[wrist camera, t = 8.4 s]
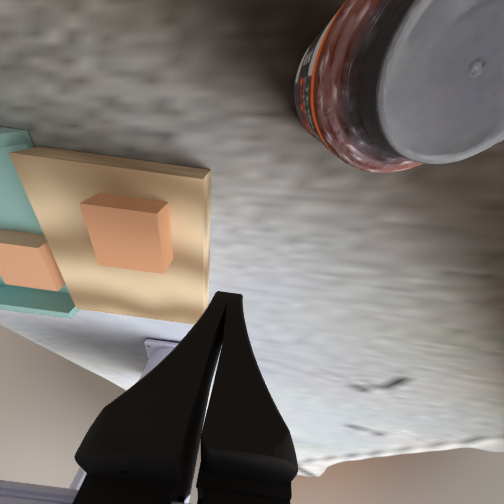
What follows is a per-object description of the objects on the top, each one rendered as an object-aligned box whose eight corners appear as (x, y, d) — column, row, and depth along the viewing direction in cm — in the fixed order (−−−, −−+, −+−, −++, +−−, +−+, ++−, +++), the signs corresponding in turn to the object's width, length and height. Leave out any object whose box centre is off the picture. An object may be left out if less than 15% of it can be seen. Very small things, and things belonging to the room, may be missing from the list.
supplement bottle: (272, 89, 15) (277, 69, 5) (356, -11, 12) (667, -412, 3) (329, 160, 17) (407, 237, 7) (411, 87, 14) (698, 60, 5)
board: (208, 307, 26) (202, 325, 24) (92, 291, 26) (76, 308, 24) (210, 169, 18) (202, 179, 15) (39, 146, 17) (8, 152, 15)
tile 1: (173, 258, 19) (164, 274, 18) (113, 251, 19) (98, 265, 18) (168, 202, 17) (156, 213, 15) (98, 193, 17) (79, 203, 15)
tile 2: (72, 278, 24) (57, 291, 22) (24, 271, 24) (5, 284, 22) (56, 236, 21) (37, 248, 20) (1, 228, 21) (-22, 239, 20)
